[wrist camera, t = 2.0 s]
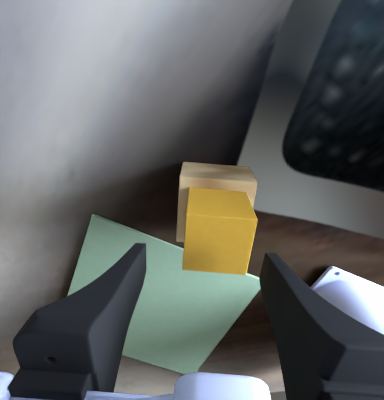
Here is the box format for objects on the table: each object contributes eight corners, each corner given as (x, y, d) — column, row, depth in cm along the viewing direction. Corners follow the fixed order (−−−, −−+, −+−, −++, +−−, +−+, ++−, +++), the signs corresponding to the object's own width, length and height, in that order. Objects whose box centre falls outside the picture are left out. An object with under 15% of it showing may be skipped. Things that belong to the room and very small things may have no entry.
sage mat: (264, 279, 28) (265, 282, 27) (192, 373, 36) (192, 376, 35) (93, 213, 25) (91, 215, 24) (56, 332, 33) (55, 334, 32)
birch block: (249, 166, 22) (258, 182, 18) (238, 223, 25) (245, 247, 21) (183, 161, 22) (179, 176, 18) (179, 218, 25) (176, 241, 21)
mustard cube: (246, 191, 19) (258, 219, 15) (237, 239, 21) (246, 275, 17) (189, 186, 19) (185, 213, 15) (185, 234, 21) (182, 270, 17)
